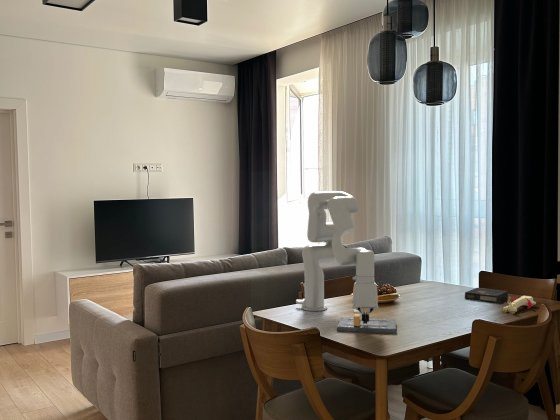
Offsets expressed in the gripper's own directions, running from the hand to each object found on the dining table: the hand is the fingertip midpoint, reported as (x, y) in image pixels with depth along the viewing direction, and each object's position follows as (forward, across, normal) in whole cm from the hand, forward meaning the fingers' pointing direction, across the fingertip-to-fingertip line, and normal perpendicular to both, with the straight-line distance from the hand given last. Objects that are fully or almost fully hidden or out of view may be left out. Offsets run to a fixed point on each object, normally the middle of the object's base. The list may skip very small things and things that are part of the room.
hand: (365, 323), depth 234 cm
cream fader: (+1, -4, +9) cm, 10 cm away
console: (+3, 0, +4) cm, 5 cm away
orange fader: (+1, -3, 0) cm, 4 cm away
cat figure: (+4, +71, +50) cm, 87 cm away
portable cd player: (+4, +60, +72) cm, 94 cm away
